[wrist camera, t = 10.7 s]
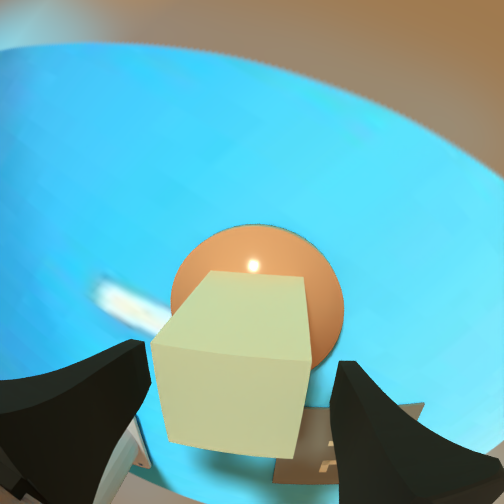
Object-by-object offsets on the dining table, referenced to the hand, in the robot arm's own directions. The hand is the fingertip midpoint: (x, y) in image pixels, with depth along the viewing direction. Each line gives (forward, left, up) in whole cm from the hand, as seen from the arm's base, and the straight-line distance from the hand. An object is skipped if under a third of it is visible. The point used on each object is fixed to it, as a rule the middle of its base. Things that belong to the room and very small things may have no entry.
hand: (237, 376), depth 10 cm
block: (0, 0, -5) cm, 5 cm away
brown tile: (+7, -12, -6) cm, 15 cm away
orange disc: (0, 0, -6) cm, 6 cm away
